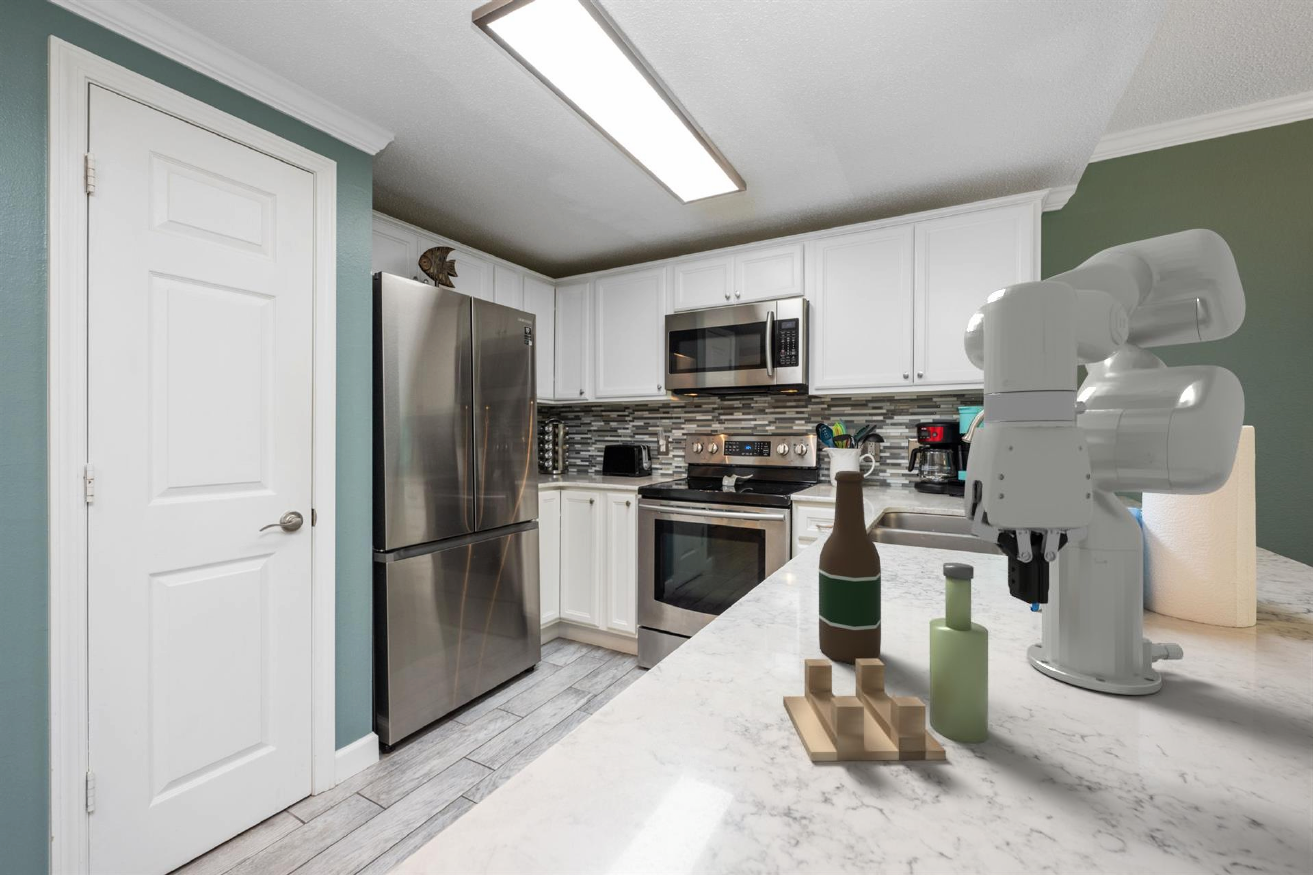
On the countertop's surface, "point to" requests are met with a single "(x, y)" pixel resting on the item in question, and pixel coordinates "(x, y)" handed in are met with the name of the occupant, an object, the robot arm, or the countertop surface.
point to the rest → (859, 718)
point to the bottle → (958, 663)
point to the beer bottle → (849, 580)
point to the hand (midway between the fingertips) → (1028, 599)
